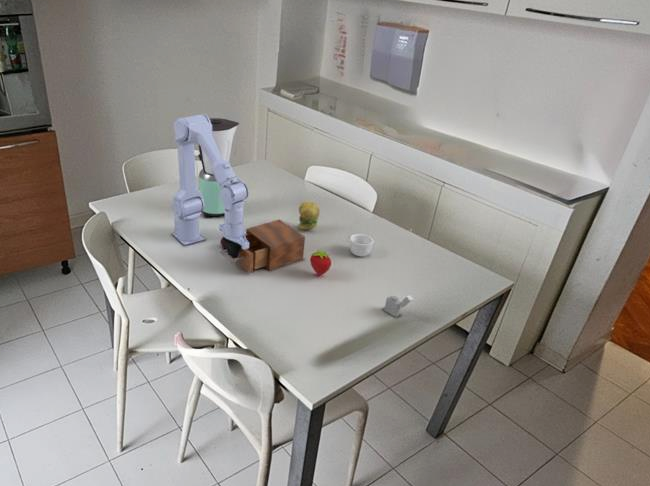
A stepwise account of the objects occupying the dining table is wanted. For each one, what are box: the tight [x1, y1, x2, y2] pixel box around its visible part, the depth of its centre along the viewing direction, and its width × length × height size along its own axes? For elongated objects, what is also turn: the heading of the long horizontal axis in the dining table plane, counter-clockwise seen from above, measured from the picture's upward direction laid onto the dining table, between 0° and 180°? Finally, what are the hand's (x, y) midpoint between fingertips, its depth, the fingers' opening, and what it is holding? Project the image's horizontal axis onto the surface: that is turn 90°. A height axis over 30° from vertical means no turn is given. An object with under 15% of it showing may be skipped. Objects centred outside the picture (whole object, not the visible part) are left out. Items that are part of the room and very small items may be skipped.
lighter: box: [383, 294, 414, 318], centre depth 148 cm, size 7×2×8 cm, turn 39°
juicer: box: [194, 117, 240, 218], centre depth 193 cm, size 19×13×35 cm
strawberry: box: [309, 249, 332, 277], centre depth 163 cm, size 6×8×10 cm
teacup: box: [346, 233, 374, 258], centre depth 178 cm, size 10×8×5 cm
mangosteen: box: [220, 236, 227, 250], centre depth 178 cm, size 4×4×5 cm
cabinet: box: [245, 219, 306, 271], centre depth 174 cm, size 14×14×9 cm
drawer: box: [219, 233, 270, 274], centre depth 169 cm, size 17×13×7 cm
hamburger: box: [297, 201, 321, 231], centre depth 188 cm, size 8×7×12 cm
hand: (233, 258), depth 167 cm, fingers closed, pressing on drawer
